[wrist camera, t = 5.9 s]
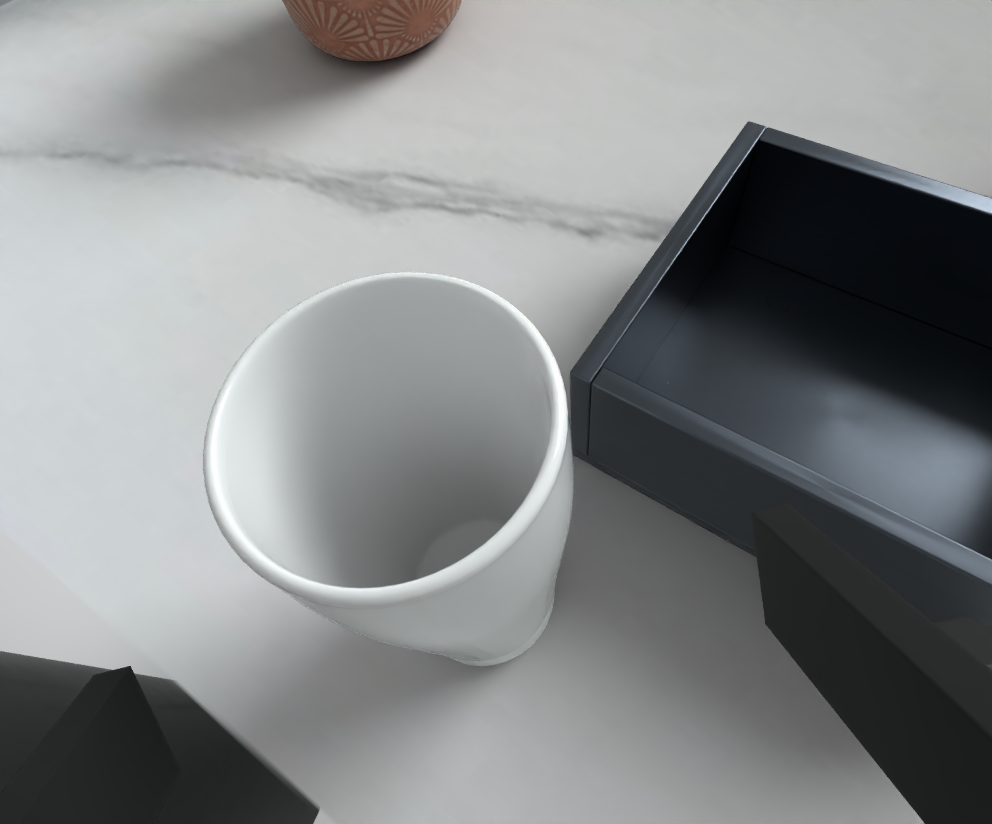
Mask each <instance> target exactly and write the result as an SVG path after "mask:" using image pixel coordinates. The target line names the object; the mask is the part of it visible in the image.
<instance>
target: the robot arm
mask: <svg viewBox="0 0 992 824" xmlns="http://www.w3.org/2000/svg"><path fill="white" fill-rule="evenodd" d="M751 516H752V524H753V531H754V539H755V547H756V555H757V562H758V570H759V578H760V586H761V593H762V601H763V609H764V617H765V624H766V625H767V627H768V628H769V629H770V630H771V632H772V633H773V634H774V635H775V637H776V638H777V639H778V640H779V642H780V643H781V644H782V645H783V647H784V648H785V649H786V650H787V652H788V653H789V654H790V655H791V657H792V658H793V659H794V660H795V662H796V663H797V664H798V665H799V667H800V668H801V669H802V670H803V672H804V673H805V674H806V675H807V677H808V678H809V679H810V680H811V682H812V683H813V684H814V685H815V687H816V688H817V689H818V690H819V692H820V693H821V694H822V695H823V697H824V698H825V699H826V700H827V702H828V703H829V704H830V705H831V707H832V708H833V709H834V710H835V712H836V713H837V714H838V715H839V717H840V718H841V719H842V720H843V722H844V723H845V724H846V725H847V727H848V728H849V729H850V730H851V732H852V733H853V734H854V735H855V737H856V738H857V739H858V740H859V742H860V743H861V744H862V745H863V747H864V748H865V749H866V750H867V752H868V753H869V754H870V755H871V757H872V758H873V759H874V760H875V762H876V763H877V764H878V765H879V767H880V768H881V769H882V770H883V772H884V773H885V774H886V775H887V777H888V778H889V779H890V780H891V782H892V783H893V784H894V785H895V787H896V788H897V789H898V790H899V792H900V793H901V794H902V795H903V797H904V798H905V799H906V800H907V802H908V803H909V804H910V805H911V807H912V808H913V809H914V810H915V812H916V813H917V814H918V815H919V817H920V818H921V819H922V820H923V822H924V823H925V824H992V627H989V626H987V625H985V624H982V623H980V622H977V621H975V620H973V619H970V618H968V617H965V616H963V615H962V616H958V617H954V618H950V619H946V620H942V621H938V622H932V621H931V620H930V619H929V618H928V617H926V616H925V615H924V614H923V613H921V612H920V611H919V610H918V609H916V608H915V607H914V606H913V605H912V604H910V603H909V602H908V601H907V600H905V599H904V598H903V597H902V596H900V595H899V594H898V593H897V592H896V591H894V590H893V589H892V588H891V587H889V586H888V585H887V584H886V583H884V582H883V581H882V580H881V579H880V578H878V577H877V576H876V575H875V574H873V573H872V572H871V571H870V570H869V569H867V568H866V567H865V566H864V565H862V564H861V563H860V562H859V561H857V560H856V559H855V558H854V557H853V556H851V555H850V554H849V553H848V552H846V551H845V550H844V549H843V548H841V547H840V546H839V545H838V544H837V543H835V542H834V541H833V540H832V539H830V538H829V537H828V536H827V535H825V534H824V533H823V532H822V531H821V530H819V529H818V528H817V527H816V526H814V525H813V524H812V523H811V522H810V521H808V520H807V519H806V518H805V517H803V516H802V515H801V514H800V513H798V512H797V511H796V510H795V509H794V508H792V507H791V506H790V505H789V504H787V503H786V504H782V505H778V506H774V507H770V508H766V509H762V510H758V511H754V512H751ZM179 771H180V768H179V766H178V764H177V762H176V760H175V758H174V756H173V754H172V752H171V750H170V747H169V745H168V743H167V741H166V739H165V737H164V735H163V733H162V731H161V729H160V727H159V724H158V722H157V720H156V718H155V716H154V714H153V712H152V710H151V708H150V706H149V704H148V702H147V699H146V697H145V695H144V693H143V691H142V689H141V687H140V685H139V683H138V681H137V679H136V677H135V674H134V672H133V670H132V669H131V666H128V667H124V668H120V669H116V670H112V671H108V672H104V673H100V674H96V675H94V676H93V677H92V678H91V679H90V681H89V682H88V683H87V684H86V686H85V687H84V688H83V690H82V691H81V692H80V693H79V695H78V696H77V697H76V698H75V700H74V701H73V702H72V703H71V705H70V706H69V707H68V708H67V710H66V711H65V712H64V714H63V715H62V716H61V717H60V719H59V720H58V721H57V722H56V724H55V725H54V726H53V727H52V729H51V730H50V731H49V733H48V734H47V735H46V736H45V738H44V739H43V740H42V741H41V743H40V744H39V745H38V746H37V748H36V749H35V750H34V752H33V753H32V754H31V755H30V757H29V758H28V759H27V760H26V762H25V763H24V764H23V765H22V767H21V768H20V769H19V770H18V772H17V773H16V774H15V776H14V777H13V778H12V779H11V781H10V782H9V783H8V784H7V786H6V787H5V788H4V789H3V791H2V792H1V793H0V824H153V823H154V821H155V819H156V817H157V815H158V813H159V811H160V809H161V807H162V805H163V803H164V801H165V799H166V797H167V795H168V793H169V791H170V789H171V787H172V785H173V783H174V781H175V779H176V777H177V775H178V773H179Z"/></svg>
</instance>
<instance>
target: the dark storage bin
mask: <svg viewBox="0 0 992 824" xmlns="http://www.w3.org/2000/svg"><path fill="white" fill-rule="evenodd" d="M570 399H571V439H572V450H573V455H575V456H577V457H579V458H580V459H582V460H584V461H586V462H588V463H589V464H591V465H593V466H595V467H597V468H598V469H600V470H602V471H604V472H605V473H607V474H609V475H611V476H613V477H614V478H616V479H618V480H620V481H622V482H623V483H625V484H627V485H629V486H631V487H632V488H634V489H636V490H638V491H639V492H641V493H643V494H645V495H647V496H648V497H650V498H652V499H654V500H656V501H657V502H659V503H661V504H663V505H664V506H666V507H668V508H670V509H672V510H673V511H675V512H677V513H679V514H681V515H682V516H684V517H686V518H688V519H690V520H691V521H693V522H695V523H697V524H698V525H700V526H702V527H704V528H706V529H707V530H709V531H711V532H713V533H715V534H716V535H718V536H720V537H722V538H723V539H725V540H727V541H729V542H731V543H732V544H734V545H736V546H738V547H740V548H741V549H743V550H745V551H747V552H749V553H750V554H752V555H754V556H756V557H757V555H756V547H755V539H754V531H753V524H752V516H751V512H754V511H758V510H762V509H766V508H770V507H774V506H778V505H782V504H786V503H787V504H789V505H790V506H791V507H792V508H794V509H795V510H796V511H797V512H798V513H800V514H801V515H802V516H803V517H805V518H806V519H807V520H808V521H810V522H811V523H812V524H813V525H814V526H816V527H817V528H818V529H819V530H821V531H822V532H823V533H824V534H825V535H827V536H828V537H829V538H830V539H832V540H833V541H834V542H835V543H837V544H838V545H839V546H840V547H841V548H843V549H844V550H845V551H846V552H848V553H849V554H850V555H851V556H853V557H854V558H855V559H856V560H857V561H859V562H860V563H861V564H862V565H864V566H865V567H866V568H867V569H869V570H870V571H871V572H872V573H873V574H875V575H876V576H877V577H878V578H880V579H881V580H882V581H883V582H884V583H886V584H887V585H888V586H889V587H891V588H892V589H893V590H894V591H896V592H897V593H898V594H899V595H900V596H902V597H903V598H904V599H905V600H907V601H908V602H909V603H910V604H912V605H913V606H914V607H915V608H916V609H918V610H919V611H920V612H921V613H923V614H924V615H925V616H926V617H928V618H929V619H930V620H931V621H932V622H938V621H942V620H946V619H950V618H954V617H958V616H962V615H963V616H965V617H968V618H970V619H973V620H975V621H977V622H980V623H982V624H985V625H987V626H989V627H992V198H989V197H986V196H983V195H980V194H977V193H973V192H970V191H967V190H964V189H961V188H958V187H955V186H951V185H948V184H945V183H942V182H939V181H936V180H933V179H929V178H926V177H923V176H920V175H917V174H914V173H911V172H907V171H904V170H901V169H898V168H895V167H892V166H888V165H885V164H882V163H879V162H876V161H873V160H870V159H866V158H863V157H860V156H857V155H854V154H851V153H848V152H844V151H841V150H838V149H835V148H832V147H829V146H826V145H822V144H819V143H816V142H813V141H810V140H807V139H804V138H800V137H797V136H794V135H791V134H788V133H785V132H782V131H778V130H775V129H772V128H767V129H766V127H765V126H762V125H759V124H756V123H753V122H747V124H746V125H745V126H744V128H743V129H742V131H741V132H740V134H739V135H738V136H737V138H736V139H735V141H734V142H733V143H732V145H731V146H730V148H729V149H728V150H727V152H726V153H725V155H724V156H723V157H722V159H721V160H720V162H719V163H718V165H717V166H716V167H715V169H714V170H713V172H712V173H711V174H710V176H709V177H708V179H707V180H706V181H705V183H704V184H703V186H702V187H701V189H700V190H699V191H698V193H697V194H696V196H695V197H694V198H693V200H692V201H691V203H690V204H689V205H688V207H687V208H686V210H685V211H684V212H683V214H682V215H681V217H680V218H679V220H678V221H677V222H676V224H675V225H674V227H673V228H672V229H671V231H670V232H669V234H668V235H667V236H666V238H665V239H664V241H663V242H662V243H661V245H660V246H659V248H658V249H657V251H656V252H655V253H654V255H653V256H652V258H651V259H650V260H649V262H648V263H647V265H646V266H645V267H644V269H643V270H642V272H641V273H640V275H639V276H638V277H637V279H636V280H635V282H634V283H633V284H632V286H631V287H630V289H629V290H628V291H627V293H626V294H625V296H624V297H623V298H622V300H621V301H620V303H619V304H618V306H617V307H616V308H615V310H614V311H613V313H612V314H611V315H610V317H609V318H608V320H607V321H606V322H605V324H604V325H603V327H602V328H601V330H600V331H599V332H598V334H597V335H596V337H595V338H594V339H593V341H592V342H591V344H590V345H589V346H588V348H587V349H586V351H585V352H584V353H583V355H582V356H581V358H580V359H579V361H578V362H577V363H576V365H575V366H574V368H573V369H572V370H571V372H570Z"/></svg>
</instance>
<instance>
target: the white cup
mask: <svg viewBox="0 0 992 824" xmlns="http://www.w3.org/2000/svg"><path fill="white" fill-rule="evenodd" d="M203 473H204V482H205V489H206V493H207V497H208V502H209V505H210V507H211V510H212V513H213V516H214V518H215V520H216V522H217V524H218V526H219V528H220V530H221V532H222V534H223V536H224V537H225V539H226V540H227V542H228V543H229V545H230V546H231V548H232V549H233V550H234V551H235V552H236V554H237V555H238V556H239V557H240V558H241V559H242V560H243V562H245V563H246V564H247V565H248V566H249V567H250V568H251V569H252V570H253V571H254V572H256V573H257V574H258V575H260V576H261V577H262V578H264V579H265V580H267V581H268V582H269V583H271V584H273V585H275V586H276V587H278V588H279V589H280V590H282V591H283V592H285V593H286V594H287V595H289V596H290V597H292V598H293V599H294V600H296V601H297V602H299V603H300V604H302V605H303V606H305V607H307V608H308V609H310V610H312V611H313V612H315V613H317V614H318V615H320V616H322V617H324V618H326V619H328V620H329V621H331V622H333V623H335V624H337V625H339V626H341V627H343V628H345V629H347V630H350V631H352V632H354V633H357V634H359V635H362V636H364V637H367V638H369V639H372V640H375V641H379V642H382V643H386V644H389V645H393V646H397V647H402V648H407V649H412V650H417V651H423V652H428V653H433V654H438V655H443V656H447V657H448V658H450V659H452V660H455V661H457V662H460V663H463V664H467V665H473V666H490V665H496V664H500V663H504V662H506V661H509V660H511V659H513V658H515V657H517V656H519V655H520V654H522V653H523V652H525V651H526V650H527V649H529V648H530V647H531V646H532V645H533V644H534V643H535V642H536V640H537V639H538V638H539V637H540V635H541V634H542V632H543V631H544V629H545V627H546V626H547V624H548V621H549V619H550V616H551V613H552V610H553V605H554V599H555V583H556V579H557V575H558V571H559V567H560V564H561V560H562V556H563V553H564V549H565V544H566V540H567V536H568V531H569V527H570V520H571V512H572V504H573V478H574V468H573V450H572V439H571V429H570V422H569V415H568V407H567V397H566V392H565V387H564V382H563V379H562V376H561V373H560V370H559V367H558V364H557V362H556V360H555V358H554V355H553V353H552V351H551V349H550V348H549V346H548V344H547V343H546V341H545V339H544V338H543V337H542V335H541V334H540V333H539V331H538V330H537V329H536V327H535V326H534V325H533V324H532V323H531V322H530V321H529V320H528V319H527V318H526V317H525V315H524V314H522V313H521V312H520V311H519V310H518V309H516V308H515V307H514V306H513V305H512V304H510V303H509V302H507V301H506V300H504V299H503V298H502V297H500V296H498V295H496V294H495V293H493V292H491V291H489V290H487V289H485V288H483V287H481V286H478V285H476V284H474V283H471V282H468V281H465V280H462V279H459V278H455V277H450V276H446V275H440V274H434V273H424V272H394V273H384V274H377V275H372V276H366V277H362V278H358V279H354V280H351V281H348V282H345V283H342V284H339V285H336V286H333V287H331V288H329V289H326V290H324V291H321V292H320V293H318V294H316V295H314V296H312V297H310V298H308V299H306V300H304V301H303V302H301V303H299V304H298V305H296V306H294V307H293V308H291V309H290V310H288V311H287V312H286V313H284V314H283V315H281V316H280V317H279V318H278V319H276V320H275V321H274V322H273V323H272V324H270V325H269V326H268V327H267V328H266V329H265V330H264V331H263V332H262V333H261V334H260V335H258V336H257V337H256V338H255V340H254V341H253V342H252V343H251V344H250V345H249V346H248V347H247V349H246V350H245V351H244V352H243V354H242V355H241V356H240V358H239V359H238V360H237V361H236V363H235V364H234V366H233V367H232V369H231V371H230V372H229V374H228V375H227V377H226V379H225V381H224V383H223V385H222V387H221V388H220V390H219V392H218V395H217V397H216V400H215V402H214V405H213V407H212V411H211V414H210V417H209V420H208V424H207V429H206V434H205V440H204V450H203Z"/></svg>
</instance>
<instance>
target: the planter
mask: <svg viewBox="0 0 992 824" xmlns="http://www.w3.org/2000/svg"><path fill="white" fill-rule="evenodd" d="M282 1H283V3H284V5H285V7H286V9H287V10H288V12H289V14H290V16H291V18H292V19H293V21H294V23H295V24H296V26H297V27H298V28H299V30H300V31H301V32H302V34H303V35H304V36H305V37H306V38H307V39H308V40H309V41H310V42H311V43H312V44H313V45H315V46H316V47H317V48H319V49H320V50H322V51H324V52H326V53H328V54H330V55H333V56H336V57H339V58H342V59H346V60H353V61H380V60H387V59H392V58H396V57H399V56H403V55H405V54H408V53H411V52H413V51H415V50H417V49H419V48H421V47H423V46H424V45H426V44H428V43H429V42H431V41H432V40H434V39H435V38H436V37H437V36H439V35H440V34H441V33H442V32H443V31H444V30H445V29H446V28H447V26H448V25H449V24H450V23H451V21H452V20H453V19H454V17H455V15H456V13H457V11H458V9H459V7H460V4H461V0H282Z"/></svg>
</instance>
